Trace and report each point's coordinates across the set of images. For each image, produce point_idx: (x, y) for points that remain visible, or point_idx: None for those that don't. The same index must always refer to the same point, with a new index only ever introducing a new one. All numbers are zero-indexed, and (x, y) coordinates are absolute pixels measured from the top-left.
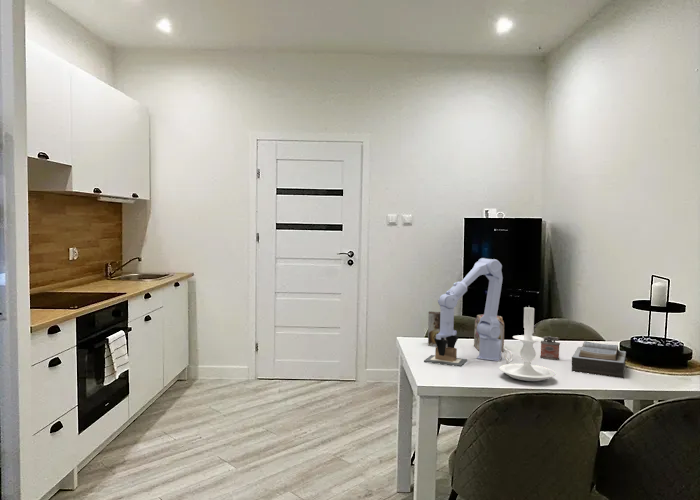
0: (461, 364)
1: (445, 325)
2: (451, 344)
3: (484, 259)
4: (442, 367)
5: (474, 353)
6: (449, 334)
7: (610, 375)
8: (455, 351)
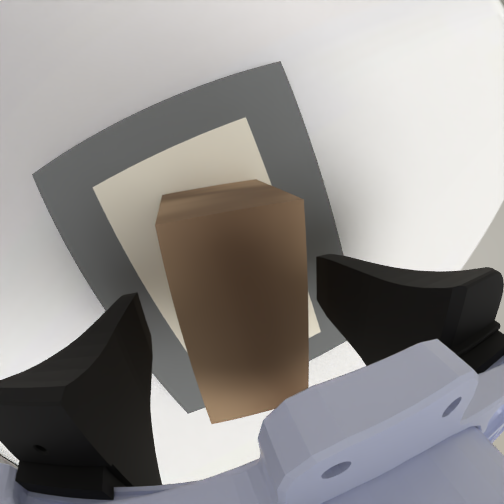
0: (255, 72)
1: None
2: (126, 366)
3: None
4: (392, 161)
5: None
6: (481, 400)
7: None
8: (195, 207)
